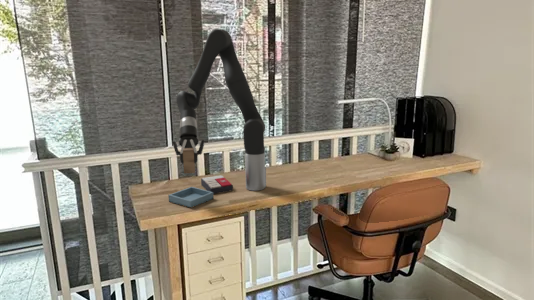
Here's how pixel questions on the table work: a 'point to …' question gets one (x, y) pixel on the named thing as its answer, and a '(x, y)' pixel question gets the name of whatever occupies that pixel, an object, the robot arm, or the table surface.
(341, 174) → the table surface
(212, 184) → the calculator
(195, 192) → the tray
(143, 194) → the table surface
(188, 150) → the walnut block
